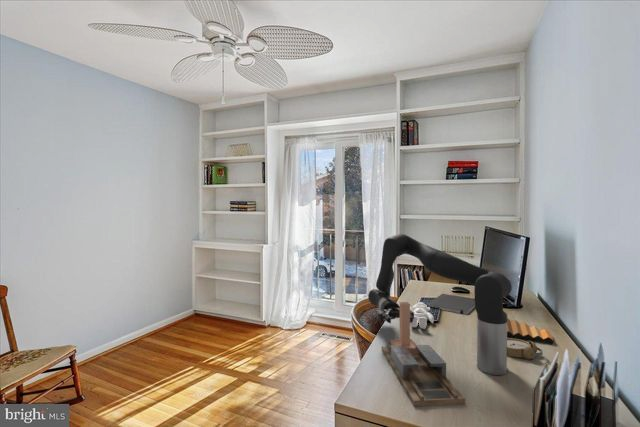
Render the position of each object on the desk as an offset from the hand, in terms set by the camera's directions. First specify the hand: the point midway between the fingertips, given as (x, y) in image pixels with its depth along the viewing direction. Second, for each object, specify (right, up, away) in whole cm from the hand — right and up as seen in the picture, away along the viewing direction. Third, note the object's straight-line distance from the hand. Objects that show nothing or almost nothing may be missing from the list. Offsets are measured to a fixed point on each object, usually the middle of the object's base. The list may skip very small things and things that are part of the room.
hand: (400, 320), depth 129 cm
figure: (+18, -12, +34) cm, 40 cm away
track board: (+1, -13, -17) cm, 21 cm away
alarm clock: (+45, -12, -2) cm, 47 cm away
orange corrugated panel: (+58, -12, +23) cm, 64 cm away
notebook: (+45, -11, +61) cm, 76 cm away
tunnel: (+1, -11, -17) cm, 20 cm away
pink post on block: (+1, -11, -4) cm, 11 cm away
